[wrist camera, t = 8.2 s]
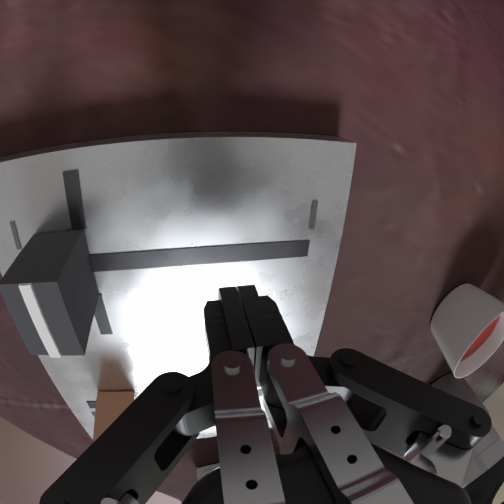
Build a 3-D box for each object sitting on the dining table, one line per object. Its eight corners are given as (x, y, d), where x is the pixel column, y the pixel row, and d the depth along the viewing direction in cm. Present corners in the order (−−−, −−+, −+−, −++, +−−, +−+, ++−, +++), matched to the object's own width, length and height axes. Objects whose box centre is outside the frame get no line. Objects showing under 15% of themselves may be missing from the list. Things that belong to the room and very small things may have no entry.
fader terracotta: (134, 391, 20) (134, 445, 16) (145, 417, 22) (147, 466, 18) (97, 391, 19) (92, 444, 15) (111, 418, 21) (110, 465, 17)
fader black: (83, 229, 14) (55, 284, 10) (99, 295, 16) (84, 357, 12) (33, 234, 13) (-4, 286, 9) (52, 297, 15) (29, 356, 11)
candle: (411, 349, 30) (441, 390, 24) (436, 283, 25) (478, 325, 20) (462, 327, 31) (492, 359, 26) (488, 266, 27) (525, 298, 21)
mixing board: (338, 136, 16) (357, 143, 15) (287, 408, 29) (293, 424, 27) (-9, 159, 12) (-27, 169, 10) (95, 424, 25) (94, 441, 23)
